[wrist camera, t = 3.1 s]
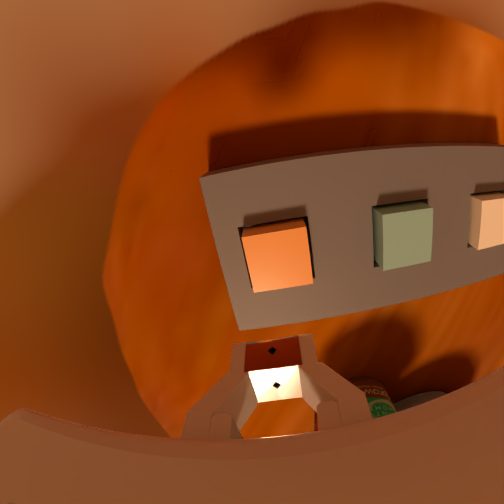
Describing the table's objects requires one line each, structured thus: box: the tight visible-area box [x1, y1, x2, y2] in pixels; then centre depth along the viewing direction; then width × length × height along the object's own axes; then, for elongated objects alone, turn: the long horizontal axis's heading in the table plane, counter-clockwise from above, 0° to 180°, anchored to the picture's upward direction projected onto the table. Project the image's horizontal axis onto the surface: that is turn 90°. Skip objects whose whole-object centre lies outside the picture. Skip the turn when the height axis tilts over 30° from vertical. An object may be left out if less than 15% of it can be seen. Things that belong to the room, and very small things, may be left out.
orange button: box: [241, 218, 313, 293], centre depth 19 cm, size 4×4×2 cm
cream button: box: [468, 192, 504, 250], centre depth 17 cm, size 4×4×2 cm
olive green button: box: [372, 201, 433, 271], centre depth 18 cm, size 4×4×2 cm
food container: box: [314, 377, 396, 431], centre depth 24 cm, size 12×6×10 cm, turn 77°
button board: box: [199, 143, 504, 331], centre depth 19 cm, size 26×12×3 cm, turn 101°
